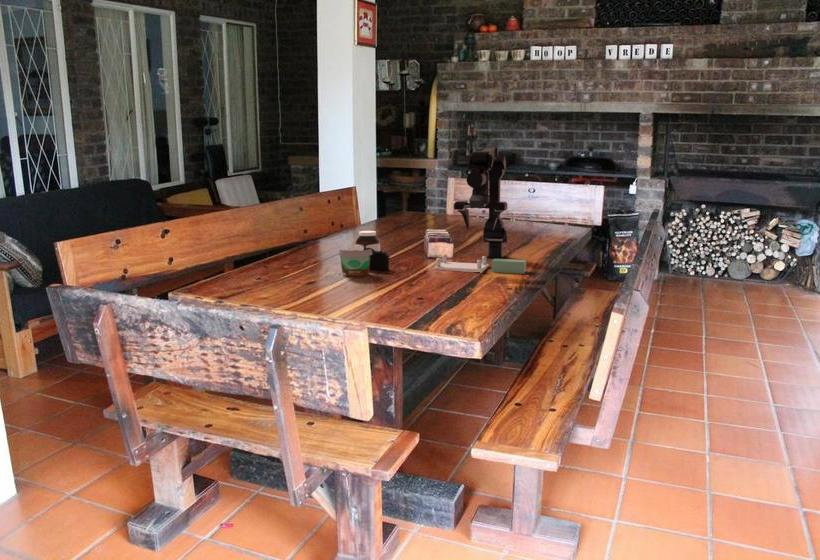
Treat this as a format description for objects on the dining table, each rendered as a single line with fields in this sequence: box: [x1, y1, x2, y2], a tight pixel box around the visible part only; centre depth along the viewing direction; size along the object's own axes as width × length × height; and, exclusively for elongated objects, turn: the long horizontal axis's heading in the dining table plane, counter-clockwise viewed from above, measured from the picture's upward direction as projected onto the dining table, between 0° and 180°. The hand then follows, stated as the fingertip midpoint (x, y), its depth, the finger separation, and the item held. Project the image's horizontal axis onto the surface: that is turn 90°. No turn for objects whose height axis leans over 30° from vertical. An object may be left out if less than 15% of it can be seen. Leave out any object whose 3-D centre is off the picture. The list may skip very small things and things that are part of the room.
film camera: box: [364, 248, 391, 272], centre depth 274 cm, size 15×10×9 cm, turn 74°
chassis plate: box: [433, 254, 489, 274], centre depth 276 cm, size 12×18×4 cm, turn 72°
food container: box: [337, 248, 372, 279], centre depth 261 cm, size 12×6×10 cm, turn 101°
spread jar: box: [349, 230, 381, 251], centre depth 296 cm, size 12×11×12 cm
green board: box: [491, 258, 527, 275], centre depth 270 cm, size 5×12×4 cm, turn 72°
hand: (480, 229), depth 267 cm, fingers open, 9 cm apart
